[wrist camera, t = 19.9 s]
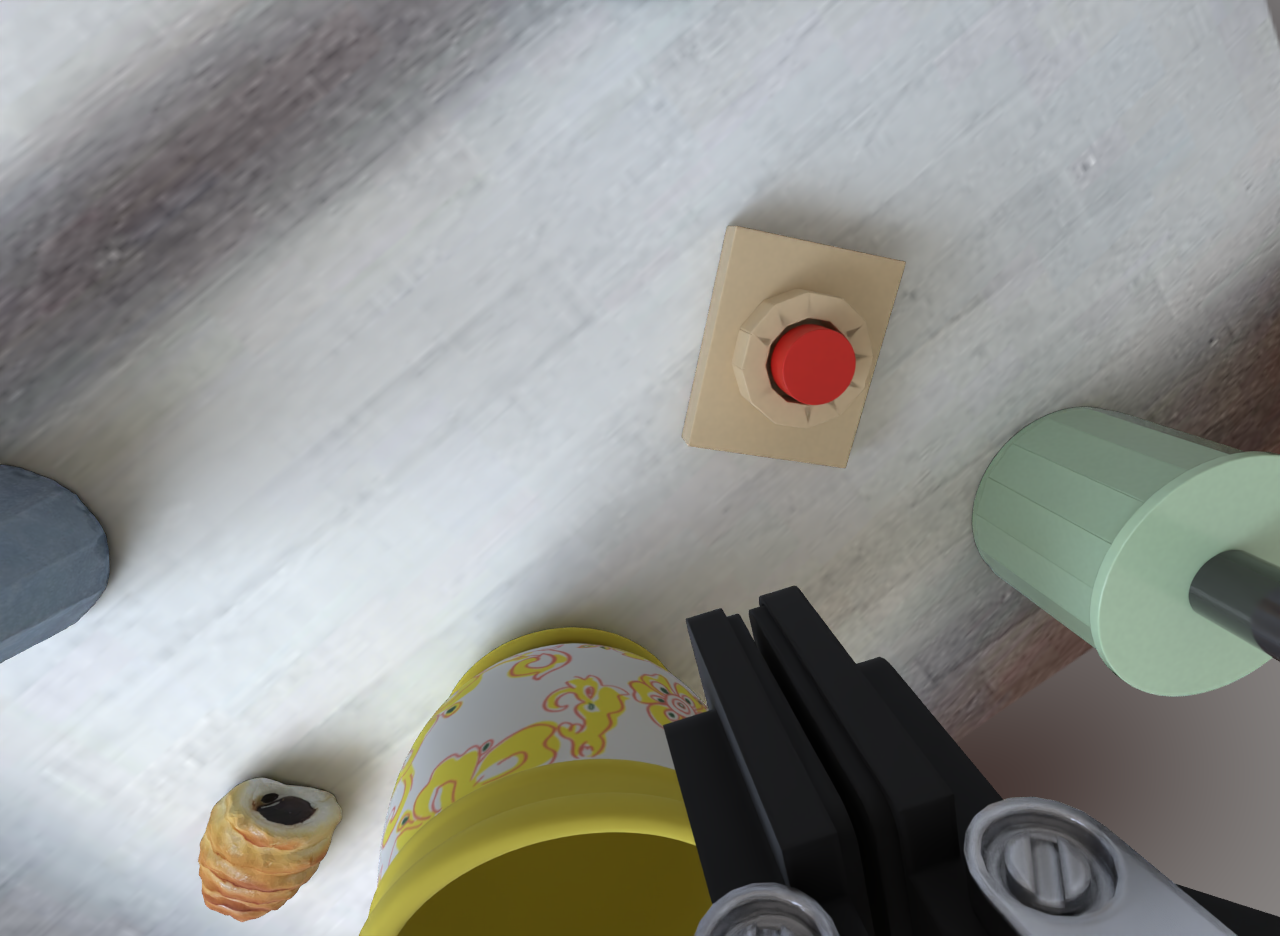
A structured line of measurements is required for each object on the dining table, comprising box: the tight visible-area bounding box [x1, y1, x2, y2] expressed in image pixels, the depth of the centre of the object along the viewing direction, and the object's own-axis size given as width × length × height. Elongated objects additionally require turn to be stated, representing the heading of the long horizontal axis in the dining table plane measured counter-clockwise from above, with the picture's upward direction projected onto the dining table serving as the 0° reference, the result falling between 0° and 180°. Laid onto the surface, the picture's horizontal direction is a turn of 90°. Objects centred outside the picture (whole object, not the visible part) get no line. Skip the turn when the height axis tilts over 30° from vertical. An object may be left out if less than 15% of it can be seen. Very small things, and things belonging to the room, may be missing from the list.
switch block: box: [682, 226, 906, 468], centre depth 35 cm, size 11×9×4 cm
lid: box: [1089, 451, 1280, 696], centre depth 30 cm, size 13×13×8 cm
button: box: [771, 324, 856, 405], centre depth 33 cm, size 4×4×2 cm
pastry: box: [198, 778, 342, 922], centre depth 40 cm, size 9×7×4 cm
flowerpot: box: [359, 627, 712, 936], centre depth 35 cm, size 18×18×16 cm
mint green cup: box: [972, 407, 1245, 649], centre depth 38 cm, size 12×12×10 cm
